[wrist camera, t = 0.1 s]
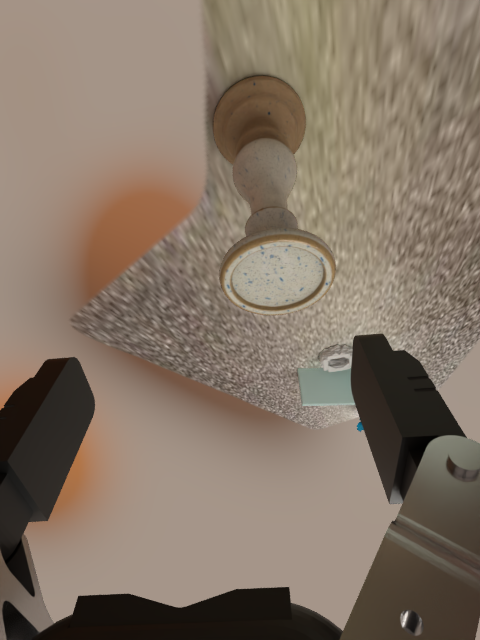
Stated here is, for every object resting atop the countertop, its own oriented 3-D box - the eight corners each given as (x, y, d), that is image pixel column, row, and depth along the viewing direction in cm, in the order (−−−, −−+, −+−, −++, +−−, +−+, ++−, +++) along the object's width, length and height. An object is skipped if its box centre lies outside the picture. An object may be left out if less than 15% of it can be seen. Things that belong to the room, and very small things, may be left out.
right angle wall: (374, 337, 68) (385, 374, 63) (356, 370, 77) (364, 404, 73) (307, 337, 67) (313, 375, 63) (297, 370, 77) (302, 405, 72)
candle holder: (257, 181, 42) (273, 335, 30) (194, 127, 37) (182, 285, 25) (323, 122, 37) (373, 278, 25) (260, 50, 32) (285, 201, 20)
